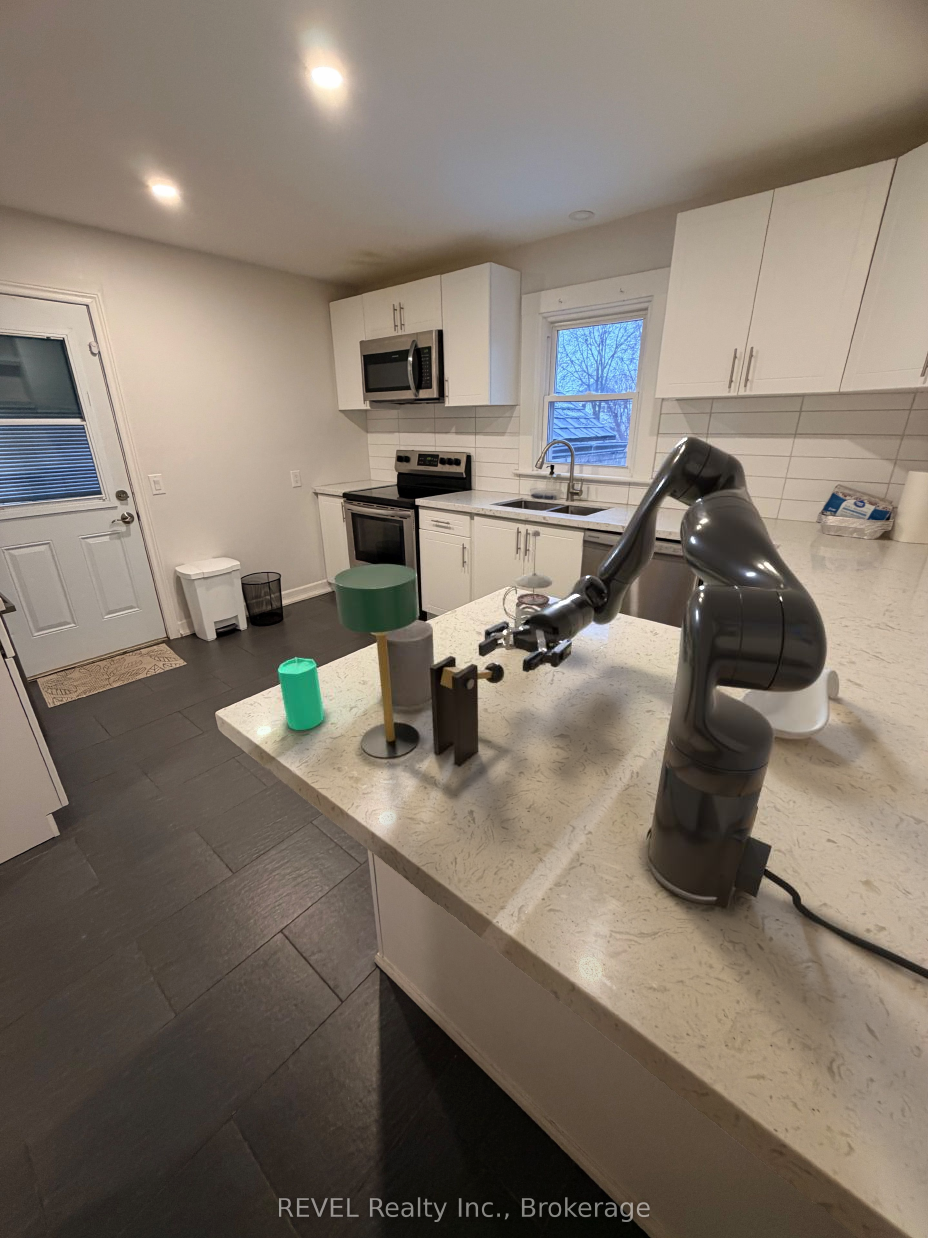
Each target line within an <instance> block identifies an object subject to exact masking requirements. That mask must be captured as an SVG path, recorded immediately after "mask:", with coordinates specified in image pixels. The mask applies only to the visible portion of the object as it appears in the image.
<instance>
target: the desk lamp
mask: <svg viewBox="0 0 928 1238" xmlns="http://www.w3.org/2000/svg"><path fill="white" fill-rule="evenodd" d="M333 583H334V584H333V585H334V592H335V600H336V609H337V616H338V623H339V625H340V626H342V628H344V629H346V630H349V631H353V632H356V633H357V632H358V633H365V634H368V633H370V634H371V635H373V636H375V638H376V639H375V640H376V650H377V660H378V670H379V680H380V681H379V683H380V693H381V702H382V703H381V704H382V713H383V723H380V724H377V725H376V726H373V727H371V728H370V729H368V730H367V731H366V732H365V733H364V734H363V735H362V738H361V739H360V745H361V749H362V751H363V752H364V753H365V754H366V755H368V756H370V757H373V758H376V759H380V760H381V759H383V760H391V759H396V758H400V757H403V756H406V755H408V754H410V753H411V752H413V751H414V750H415V749H416V747H417V746H418V745H419V743H420V740H421V739H420V738H421V737H420V733H419V731H418V730H417V728H415V727H414V726H412V725H411V724H408V723H405V722H397V721H394V712H393V704H392V698H391V686H390V675H389V663H388V651H387V640H386V634H388V633H389V632H391V631H392V630H397V629H400V628H403V627H406V626H408V625H410V624H412V623H413V622H415V621H416V620H419V616H420V607H419V591H418V575H417V571H416V570H415V569H413V568H412V567H409V566H406V565H402V564H401V565H400V564H391V563H377V564H376V563H375V564H364V565H359V566H353V567H350V568H347V569H345V570H342V571H340V572H339V573H337V574H336V575H335V576H334V577H333Z"/></svg>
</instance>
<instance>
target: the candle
mask: <svg viewBox="0 0 928 1238" xmlns="http://www.w3.org/2000/svg"><path fill="white" fill-rule="evenodd" d="M277 674H278V679H279V685H280V690H281V696H282V701H283V707H284V711H285V717H286V723H287V724H288V727H289V728H290V729H293V730H295V731H305V730H306V731H307V730H310V729H313V728H315V727H316V728H317V726H319V725H320V724H321V723H322V722H323V720H324V718H325V714H324V707H323V699H322V693H321V686H320V679H319V673H318V665H317V663H316V662H315V659H313V658H304V657H297V656H295V657H294V658H290V659H288V660H286V661H284V662H283V663H280V665H279V666H278V668H277Z"/></svg>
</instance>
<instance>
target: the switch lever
mask: <svg viewBox="0 0 928 1238" xmlns="http://www.w3.org/2000/svg"><path fill="white" fill-rule="evenodd" d="M462 669H463V668H461V667H458V666H456V667H447V668H444V669H443V673H442V678H441V683H440V684H441V685H444V686H446V687H448V688H451V689H452V675H454V674H456V673H457V672H459V671H461V670H462ZM504 677H505V668H504V667H503V666H502V665H501V664H500V663H497V662H491V663H488V664H486V665H485V668H484V669H478V680H483V679H485V680H486V681H487V682H488V683H490V684H498V683H500V682H501V681H503V679H504Z"/></svg>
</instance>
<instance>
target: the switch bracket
mask: <svg viewBox="0 0 928 1238" xmlns="http://www.w3.org/2000/svg"><path fill="white" fill-rule="evenodd" d="M456 658H457V657H456V656H453V655H449V656H446V657H445V658H444V659H441V660H440V661H438V662H436V663H434V665H433V666H431V667H430V681H431V699H430V700H431V701H430V702H431V716H432V718H431V719H432V737H433V738H432V740H433V754H434V755H436V756H438V757H440V756H441V755H442V754H444V753H445V752H447V751H448V750H449V749H451V748H452V747H453V757H454V759H453V760H454V761H453V763H454V765H455V766H457V767H459V768H461V767H462V766H463V765H464V764H465V763H467V762H468V761H469V760H470V759H472V758H473V757H474V756H475V755H477V754H478V753H479V679H478V670H479V667H478V665H477V664H475V663H471V664H469V665H467V666H466V667H464V668H461V669H462V670H461V671H459V672H457V673H456V674H454V675H452V689H451V688H448V687H446V686H444V685H441V684H440V683H441V678H442V673H443V669H444V668H447V667H457V662H456V661H457V660H456Z"/></svg>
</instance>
